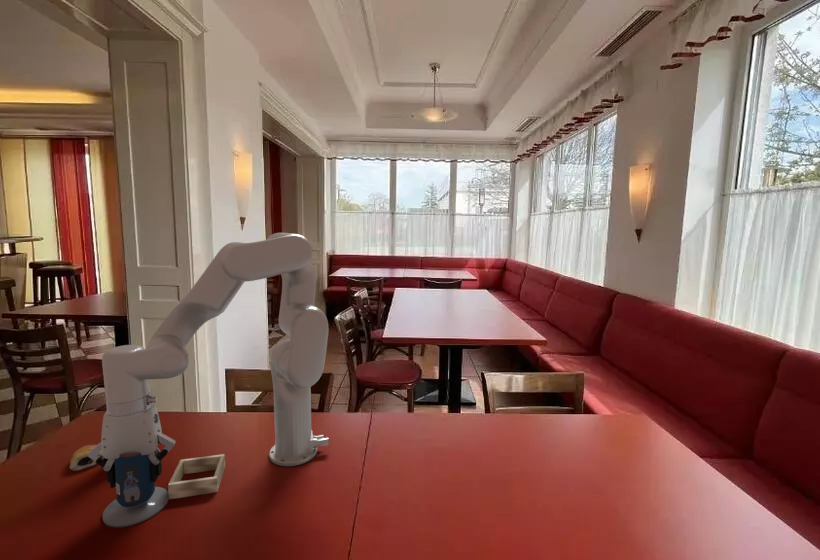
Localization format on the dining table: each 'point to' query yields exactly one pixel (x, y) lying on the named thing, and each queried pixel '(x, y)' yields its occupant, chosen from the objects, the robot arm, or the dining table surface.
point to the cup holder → (197, 485)
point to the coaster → (135, 510)
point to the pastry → (82, 458)
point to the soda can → (133, 480)
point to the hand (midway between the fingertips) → (135, 480)
